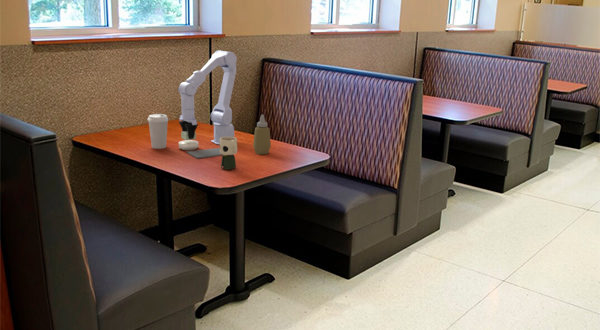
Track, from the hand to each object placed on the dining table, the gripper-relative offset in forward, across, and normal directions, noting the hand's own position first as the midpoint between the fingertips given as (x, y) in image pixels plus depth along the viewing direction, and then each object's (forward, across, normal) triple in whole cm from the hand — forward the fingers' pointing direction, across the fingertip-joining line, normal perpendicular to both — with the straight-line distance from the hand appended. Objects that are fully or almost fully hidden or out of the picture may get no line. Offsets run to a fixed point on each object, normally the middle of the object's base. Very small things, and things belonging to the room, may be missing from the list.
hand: (188, 137), depth 278 cm
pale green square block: (+1, 0, 0) cm, 1 cm away
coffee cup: (+6, -9, -11) cm, 15 cm away
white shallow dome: (+5, 0, 0) cm, 5 cm away
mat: (+5, +12, +4) cm, 14 cm away
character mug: (+6, +38, +1) cm, 38 cm away
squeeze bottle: (+6, +23, +26) cm, 35 cm away
